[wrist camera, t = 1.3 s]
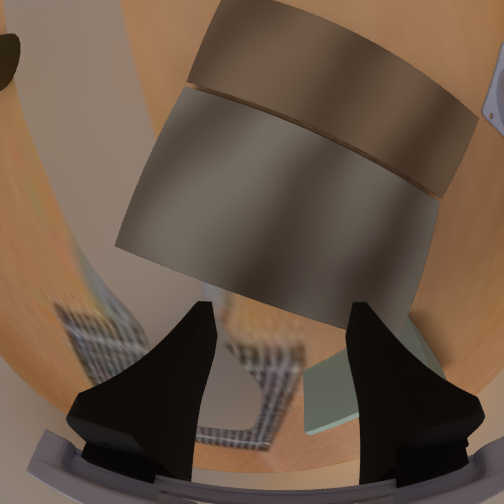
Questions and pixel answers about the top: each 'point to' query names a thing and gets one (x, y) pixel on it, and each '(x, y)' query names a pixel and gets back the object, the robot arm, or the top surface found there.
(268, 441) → the top surface
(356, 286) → the grey oak plank
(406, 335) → the l-shaped corner panel
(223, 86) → the walnut floor row
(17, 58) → the brown tall rounded piece
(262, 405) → the top surface
